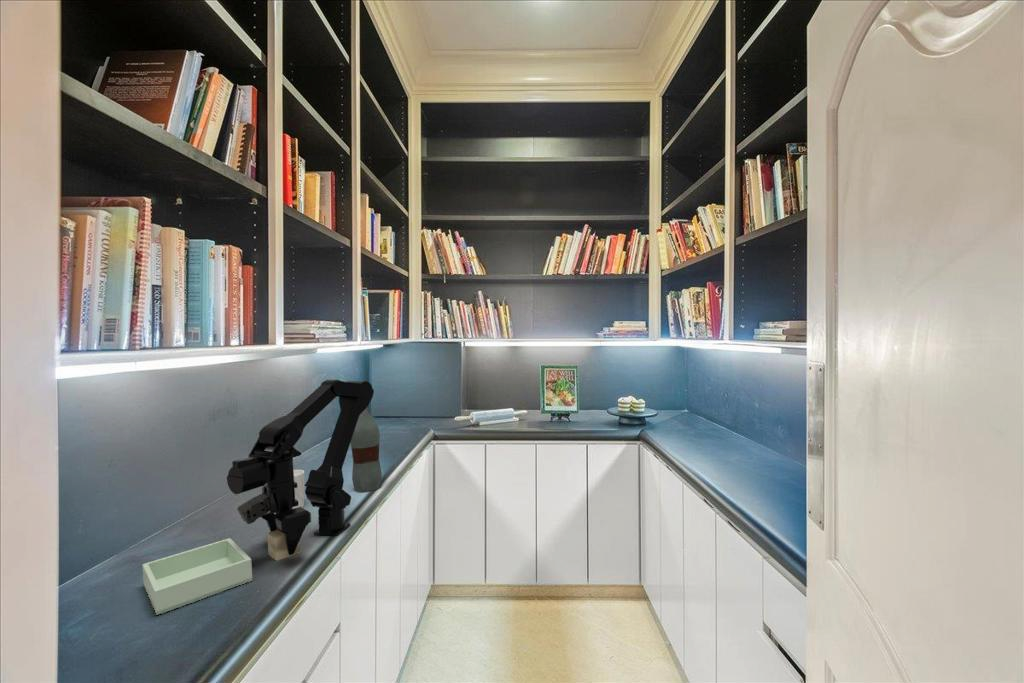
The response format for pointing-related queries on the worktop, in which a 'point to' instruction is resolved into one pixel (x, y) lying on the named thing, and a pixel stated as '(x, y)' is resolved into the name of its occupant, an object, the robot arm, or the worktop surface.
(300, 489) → the white cup
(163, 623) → the worktop surface
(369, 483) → the bottle
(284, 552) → the birch block
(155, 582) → the sage bin
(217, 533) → the worktop surface
